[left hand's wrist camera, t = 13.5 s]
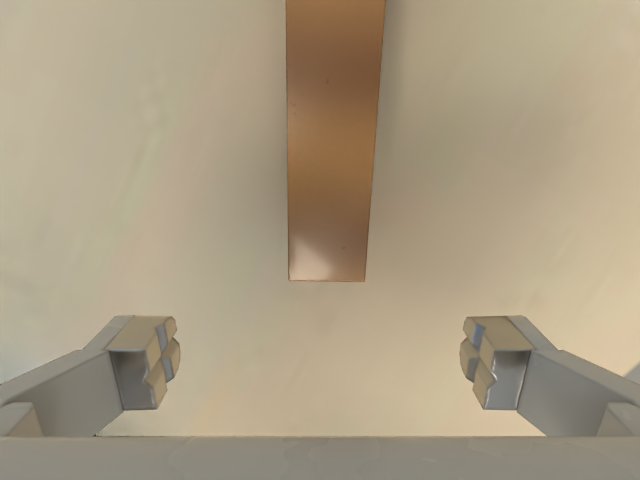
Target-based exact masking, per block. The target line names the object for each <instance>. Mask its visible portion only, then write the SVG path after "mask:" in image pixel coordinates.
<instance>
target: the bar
mask: <svg viewBox="0 0 640 480" xmlns="http://www.w3.org/2000/svg"><path fill="white" fill-rule="evenodd" d="M385 2H386V0H286V77H287V181H288V279H289V281H339V282H364V281H365V272H366V258H367V245H368V231H369V218H370V204H371V191H372V177H373V164H374V150H375V137H376V123H377V110H378V96H379V83H380V69H381V56H382V42H383V29H384V15H385Z"/></svg>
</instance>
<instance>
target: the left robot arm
mask: <svg viewBox="0 0 640 480" xmlns="http://www.w3.org/2000/svg"><path fill="white" fill-rule="evenodd" d="M176 331H177V327H176V322H175V319H174V318H173V317H172V316H135V315H129V316H115V317H114V318H113V319H112V320H111V321H110V322H109V323H108V324H107V325H106V326H105V327H104V328H103V329H102V330H101V331H100V332H99V333H98V334H97V335H96V336H95V337H94V338H93V339H92V340H91V341H90V342H89V343H88V344H87V345H86V346H85V347H84V348H83V350H75V351H73V352H71V353H69V354H66V355H64V356H62V357H60V358H58V359H56V360H53V361H51V362H49V363H47V364H45V365H42V366H40V367H38V368H36V369H34V370H31V371H29V372H27V373H25V374H23V375H20V376H18V377H16V378H14V379H12V380H9V381H7V382H5V383H3V384H1V385H0V480H640V385H639V384H637V383H635V382H633V381H630V380H628V379H626V378H624V377H622V376H619V375H617V374H615V373H613V372H611V371H609V370H606V369H604V368H602V367H600V366H598V365H595V364H593V363H591V362H589V361H587V360H584V359H582V358H580V357H578V356H576V355H573V354H571V353H569V352H567V351H565V350H558V349H557V348H556V347H555V346H554V345H553V344H552V343H551V342H550V341H549V340H548V339H547V338H546V337H545V336H544V335H543V334H542V333H541V332H540V331H539V330H538V329H537V328H536V327H535V326H534V325H533V324H532V323H531V322H530V321H529V320H528V319H527V318H526V317H524V316H522V315H515V316H483V317H466V320H465V322H464V327H463V331H464V332H465V334H466V336H467V338H466V339H465V340H464V341H463V342H462V343H461V346H460V364H461V367H462V370H463V373H464V375H465V377H466V378H467V379H468V380H470V381H471V382H473V383H474V385H473V392H474V394H475V395H476V397H477V399H478V401H479V403H480V405H481V406H482V408H483V409H485V410H517V413H519V414H520V415H521V416H522V417H524V418H525V419H526V420H528V421H529V422H530V423H531V424H533V425H534V426H535V427H536V428H538V429H539V430H540V431H541V432H543V433H544V434H545V435H546V436H94V435H95V434H96V433H98V432H99V431H100V430H101V429H103V428H104V427H105V426H106V425H108V424H109V423H110V422H111V421H113V420H114V419H115V418H116V417H118V416H119V415H120V414H121V413H123V410H154V409H157V408H158V406H159V405H160V403H161V401H162V399H163V397H164V395H165V394H166V392H167V385H166V383H167V382H169V381H170V380H172V379H173V378H174V377H175V375H176V373H177V371H178V367H179V363H180V346H179V343H178V342H177V341H176V340H175V339H174V338H173V336H174V334H175V332H176Z"/></svg>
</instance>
